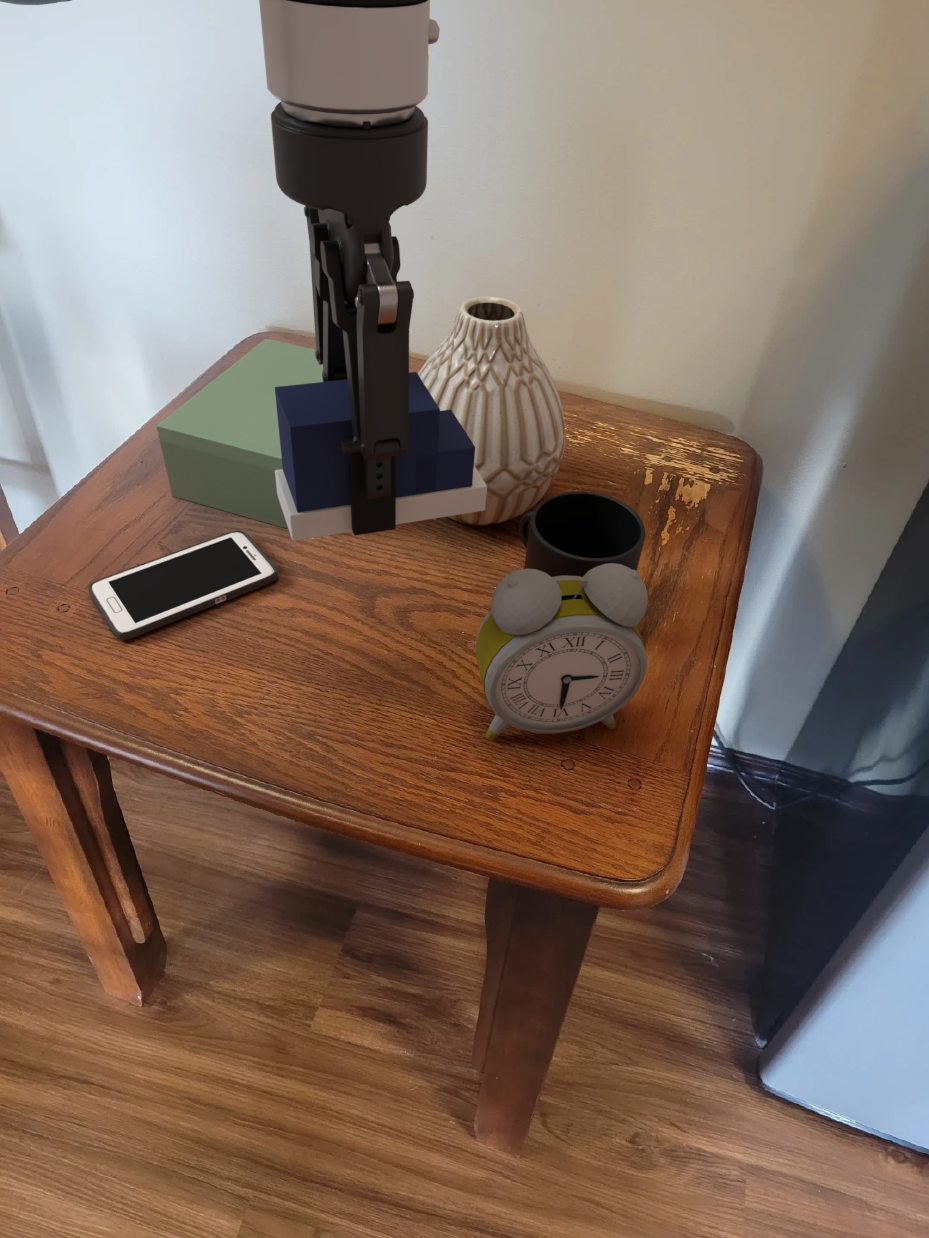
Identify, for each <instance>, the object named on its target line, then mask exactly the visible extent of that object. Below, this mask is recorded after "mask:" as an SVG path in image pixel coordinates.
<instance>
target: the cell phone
mask: <svg viewBox="0 0 929 1238" xmlns="http://www.w3.org/2000/svg"><path fill="white" fill-rule="evenodd" d="M278 573H279V572H278V569H277V566H276V565H275V564H274V563H273V562H272V560H271V559H270V558H269V557H268V556H267V555H266V553H264V551H263V550H262V549H261V548H260V546H259V545H258V544H257V543H256V542H255V541H254V540H253V539H252V538H251V536H250V535H249V534H248V533H246V532H245V531H243V530H241V529H236V530H232V531H229V532H226V533H223V534H220V535H217V536H215V537H213V538H209V539H206V540H203V541H201V542H198V543H196V544H193V545H190V546H187V547H183V548H182V549H179V550H177V551H173V552H171V553H167V554H164V555H162V556H159V557H156V558H154V559H151V560H149V561H146V562H143V563H140V564H137V565H134V566H132V567H129V568H127V569H123V570H121V571H118V572H115V573H112V574H110V575H107V576H104V577H102V578H99V579H97V580H95V581H92V582H91V583H90V584H89V585H88V587H87V589H88V593H89V596H90V598H91V599H90V600H91V601H92V602H93V603H94V605H95V607H96V608H97V611H99V612H100V613H101V615H102V617H103V619H104V621H105V623H106V625H107V626H108V628H109V630H110V631H111V633H112V634H113V635H114V637H115V638H116V639H118V640H120V641H128V640H131V639H134V638H136V637H139V636H141V635H145V634H146V633H149V632H151V631H155V630H156V629H159V628H161V627H164V626H166V625H169V624H171V623H174V622H176V621H179V620H181V619H184V618H186V617H189V616H191V615H195V614H196V613H199V612H201V611H203V610H206V609H208V608H211V607H214V606H215V605H219V604H221V603H222V602H225V601H229V600H232V599H234V598H237V597H238V596H242V595H244V594H246V593H249V592H252V591H254V590H256V589H259V588H262V587H263V586H266V585H268V584H272V583H273V582H274V581H276V580H277V579H278V578H279V574H278Z"/></svg>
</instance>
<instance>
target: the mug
mask: <svg viewBox="0 0 929 1238" xmlns="http://www.w3.org/2000/svg"><path fill="white" fill-rule="evenodd" d="M518 526H519V527H518V528H519V536H520V539H521V542H522V544H523V546H524V548H525V549H526V550H525V551H526V552H525V559H524V560H525V561H524V567H523V569H537V570H540V571H542V572H545V573H547V574H548V575H549V576H551V577H556V576H579V577H583V576H584V575H585V574H586V573H587V572H588V571H589V570H591V569H593V568H595V567H597V566H600V565H603V564H608V563H614V564H621V565H624V566H626V567H629V568H630V569H631V570H636V571H637V572H638V567H639V563H640V561H641V555H642V552H643V547H644V543H645V539H646V528H645V524H644V522H643V520H642V518H641V517H640V515H639V514H638V513H637V512H636V511H635V510H634V509H633V508H632V507H631V506H629V505H628V504H627V503H625V502H623V501H621V500H619V499H617V498H615V497H613V496H611V495H606V494H604V493H599V492H594V491H587V490H585V491H584V490H573V491H563V492H559V493H556V494H553V495H550V496H548V497H546V498H545V499H543V500H541V501H539V503H537V505H536V506H535V508H534V509H533V510H531V511H526V512H524V513H523V515H522V516H521V517H520V521H519V525H518Z"/></svg>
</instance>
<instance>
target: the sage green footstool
mask: <svg viewBox="0 0 929 1238" xmlns="http://www.w3.org/2000/svg"><path fill="white" fill-rule="evenodd" d="M315 351H316V348H310V347H306V346H302V345H299V344H293V343H288V342H284V341H280V340H276V339H272V338H271V339H270V338H264V339H263V340H262V341H260V342H259V343H258V344H257V345H255V346H254V347H253V348H252V349H251V350H249V351H248V352H246V354H244V355H243V356H242V357H240V358H239V359H238V360H237V361H236V362H234V363H233V364H232V365H230V366H229V367H228V368H226V369H225V370H224V371H223V372H222V373H220V374H219V375H218V376H217V377H216V378H214V379H213V380H212V381H210V382H209V383H208V384H206V386H204V387H203V388H201V389H200V390H199V391H198V392H196V393H195V394H194V395H193V396H192V397H190V398H189V399H188V400H186V401H185V402H184V403H182V405H180V406H179V407H178V408H177V409H175V410H174V411H172V412H171V413H170V414H169V415H167V417H165V418H164V419H163V420H161V421H160V422H158V423H157V424H156V426H155V427H156V431H157V432H156V433H157V437H158V439H159V444H160V448H161V453H162V459H163V462H164V466H165V470H166V475H167V480H168V483H169V488H170V493H171V496H172V497H174V498H177V499H181V500H183V501H188V502H191V503H195V504H199V505H202V506H205V507H209V508H213V509H216V510H220V511H224V512H227V513H229V514H233V515H237V516H241V517H244V518H248V519H251V520H255V521H259V522H262V523H266V524H269V525H273V526H277V527H280V528H282V529H283V528H284V529H286V530H289V529H288V526H287V523H286V520H285V517H284V514H283V510H282V507H281V504H280V501H279V498H278V495H277V487H276V477H275V470H280V469H283V467H282V456H281V446H280V436H279V426H278V416H277V406H276V395H275V387H280V386H290V385H299V384H308V383H318V382H323V380H322V371H323V365H319V363H318V361H317V359H316V357H315Z"/></svg>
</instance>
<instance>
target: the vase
mask: <svg viewBox="0 0 929 1238" xmlns="http://www.w3.org/2000/svg"><path fill="white" fill-rule="evenodd" d="M527 329H528V328H527V324H526V320H525V316H524V311H523V308H522V307H521V306H520V305H519V304H517V303H516V302H514V301H512V300H510V299H507V298H503V297H499V296H489V295H487V296H486V295H485V296H476V297H473V298H469V299H467V300H465V301H464V302H462V303H461V304H460V306H459V308H458V310H457V313H456V316H455V319H454V321H453V324H452V326H451V328H450V331H449V332H448V334H447V335H446V337H445V338H444V340H443V341H442V342H441V343H440V344H439V345H438V346H437V347H436V349H434V351H433V352H432V353H431V354H430V356H429V357H428V358H427V360H426V361H425V362H424V363H423V365H422V366H421V368H420V369H419V371H417V374H418V375H419V377H420V378H421V380H422V381H423V383H424V385H425V386H426V388H427V389H428V391H429V393H430V394H431V396H432V397H433V399H434V401H435V402H436V404H437V405H438V407H439V409H440V411H443V410H452V412H453V413H454V415H455V416H456V418H457V420H458V421H459V423H460V424H461V426H462V427H463V429H464V430H465V432H466V434H467V435H468V437H469V438H470V440H471V441H472V443H473V444H474V446H475V457H474V466H475V467H476V469H477V471H478V472H479V474H480V475H481V477H482V479H483V480H484V482H485V483H486V485H487V494H486V504H485V510H484V511H478V512H472V513H466V514H459V515H453V516H447V517H446V518H448V519H451V520H453V521H454V522H458V523H461V524H465V525H471V526H490V525H496V524H501V523H503V522H506V521H509V520H513V519H515V518H517V517H519V516H521V515H522V514H525V513H527V512H528V511H529V510H530V509H532V508H533V507H534V506H535V505H536V504H538V502H540V500H541V499H542V498H543V497H544V496H545V494H546V493H547V492H548V491H549V489H550V488H551V486H552V484H553V482H554V481H555V479H556V477H557V475H558V473H559V469H560V468H561V465H562V461H563V457H564V453H565V449H566V434H567V433H566V432H567V431H566V422H565V415H564V409H563V405H562V399H561V398H560V394H559V391H558V389H557V385H556V383H555V380H554V379H553V377H552V375H551V373H550V371H549V369H548V367H547V366H546V364H545V362H544V360H543V359H542V357H541V355H540V354H539V352H538V351H537V349H536V348H535V347H534V344H532V342H531V340H530V336H529V333H528V330H527Z"/></svg>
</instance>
